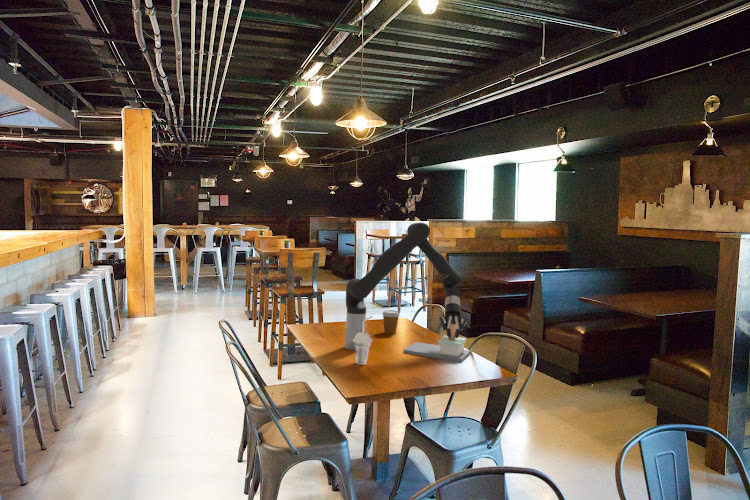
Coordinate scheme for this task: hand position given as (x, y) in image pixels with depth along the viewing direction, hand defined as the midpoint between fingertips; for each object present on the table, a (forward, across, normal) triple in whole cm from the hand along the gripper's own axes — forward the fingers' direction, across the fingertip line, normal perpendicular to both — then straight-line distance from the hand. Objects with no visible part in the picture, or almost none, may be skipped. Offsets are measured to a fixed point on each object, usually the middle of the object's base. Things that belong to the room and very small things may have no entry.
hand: (453, 337), depth 234 cm
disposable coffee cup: (-21, -31, +35) cm, 51 cm away
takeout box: (+4, 0, +7) cm, 8 cm away
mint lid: (+1, 0, +4) cm, 4 cm away
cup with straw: (+22, -40, -8) cm, 47 cm away
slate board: (+4, -6, +10) cm, 12 cm away
